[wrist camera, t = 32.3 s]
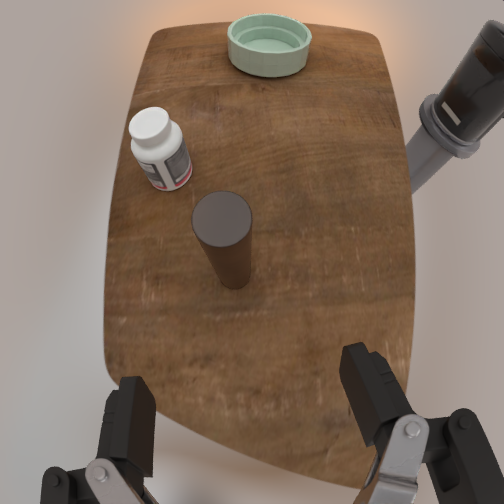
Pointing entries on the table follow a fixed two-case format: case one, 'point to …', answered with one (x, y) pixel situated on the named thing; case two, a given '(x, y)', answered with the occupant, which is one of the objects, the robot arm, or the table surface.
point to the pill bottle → (160, 149)
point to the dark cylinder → (225, 235)
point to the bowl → (268, 45)
